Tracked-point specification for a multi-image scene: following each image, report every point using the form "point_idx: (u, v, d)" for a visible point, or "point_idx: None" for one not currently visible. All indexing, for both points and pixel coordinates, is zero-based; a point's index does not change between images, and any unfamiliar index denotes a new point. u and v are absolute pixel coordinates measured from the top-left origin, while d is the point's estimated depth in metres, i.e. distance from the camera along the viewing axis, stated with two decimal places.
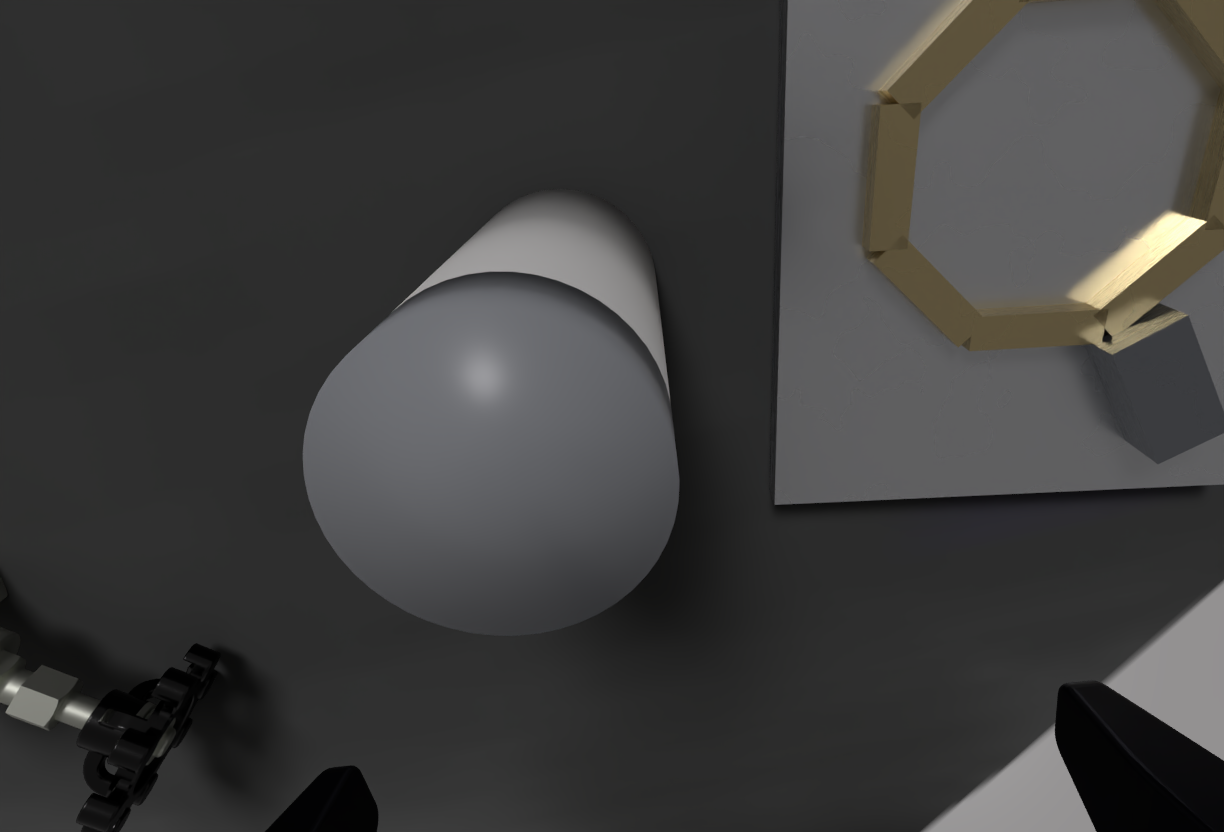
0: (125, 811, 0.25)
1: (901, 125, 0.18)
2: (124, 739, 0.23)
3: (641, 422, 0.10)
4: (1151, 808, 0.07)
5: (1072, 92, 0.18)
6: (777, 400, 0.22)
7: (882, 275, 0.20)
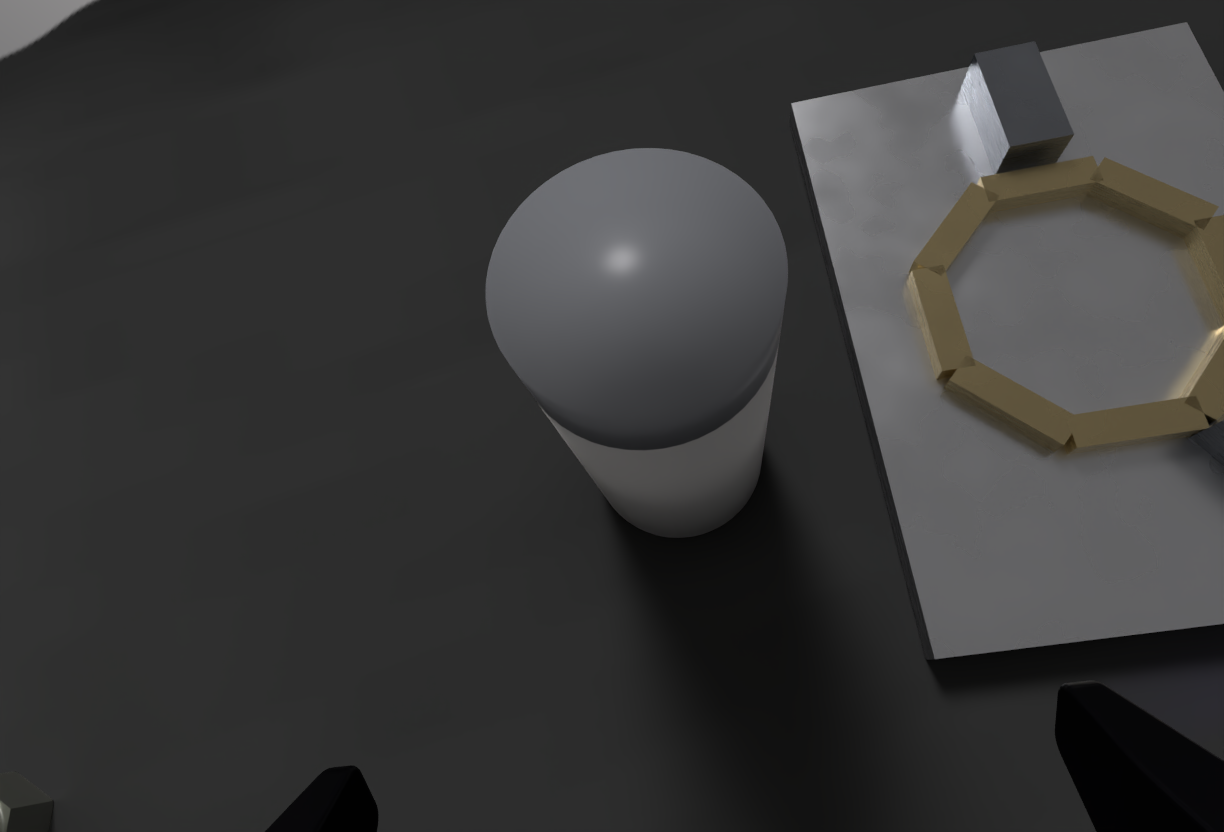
0: None
1: (933, 280, 0.23)
2: None
3: (747, 206, 0.13)
4: (1151, 808, 0.07)
5: (1063, 255, 0.24)
6: (901, 530, 0.22)
7: (964, 400, 0.23)
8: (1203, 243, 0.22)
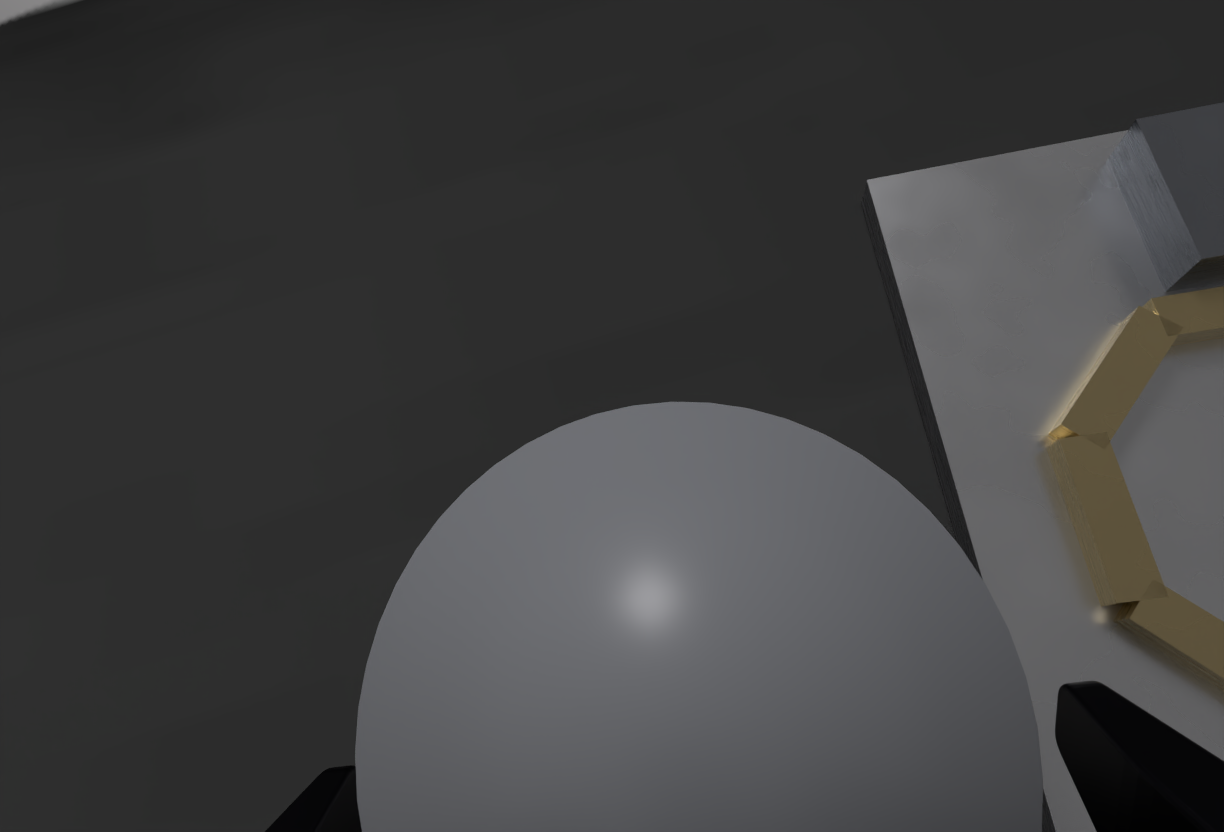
0: None
1: (1093, 456, 0.16)
2: None
3: (927, 563, 0.06)
4: (1151, 808, 0.07)
5: None
6: None
7: (1147, 644, 0.15)
8: None
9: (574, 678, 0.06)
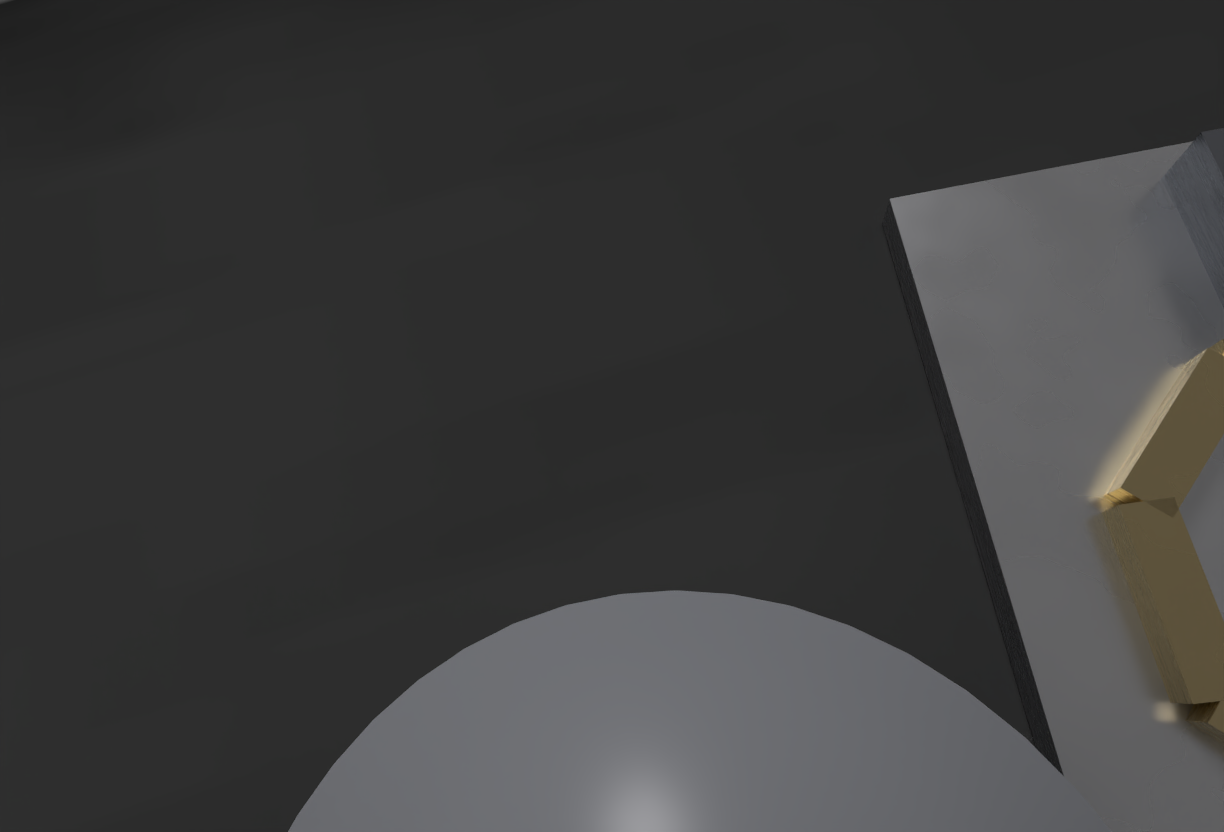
0: None
1: (1159, 526, 0.14)
2: None
3: None
4: None
5: None
6: None
7: None
8: None
9: None
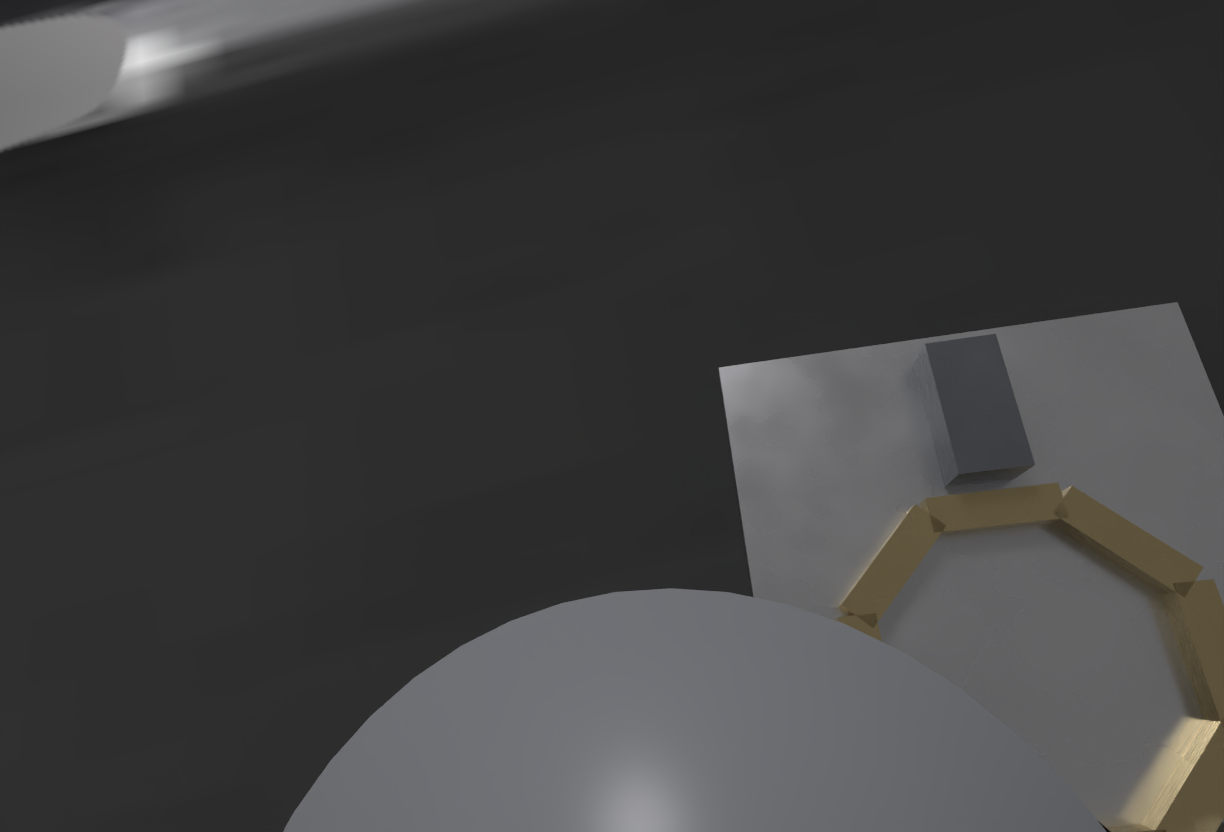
0: None
1: None
2: None
3: None
4: None
5: (1019, 602, 0.20)
6: None
7: None
8: (1183, 614, 0.19)
9: None
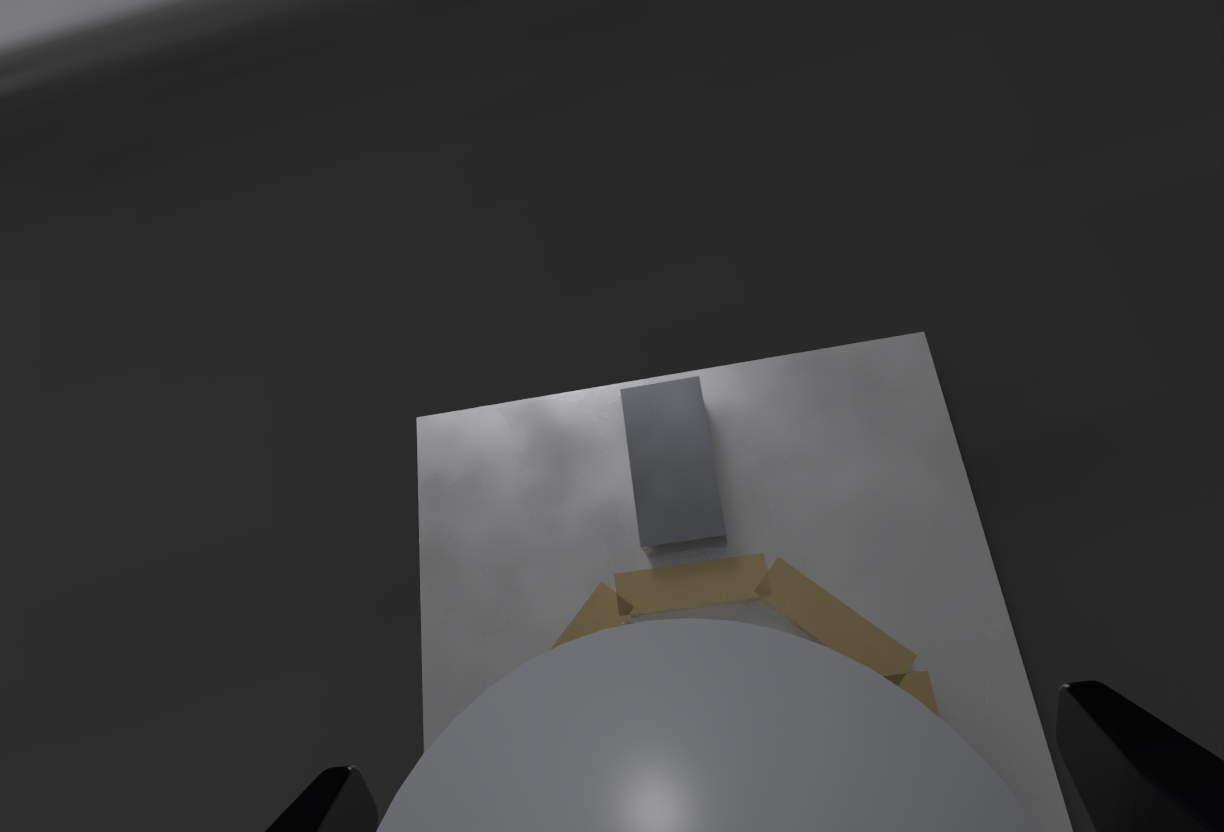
0: None
1: None
2: None
3: None
4: (1151, 808, 0.07)
5: None
6: None
7: None
8: None
9: None
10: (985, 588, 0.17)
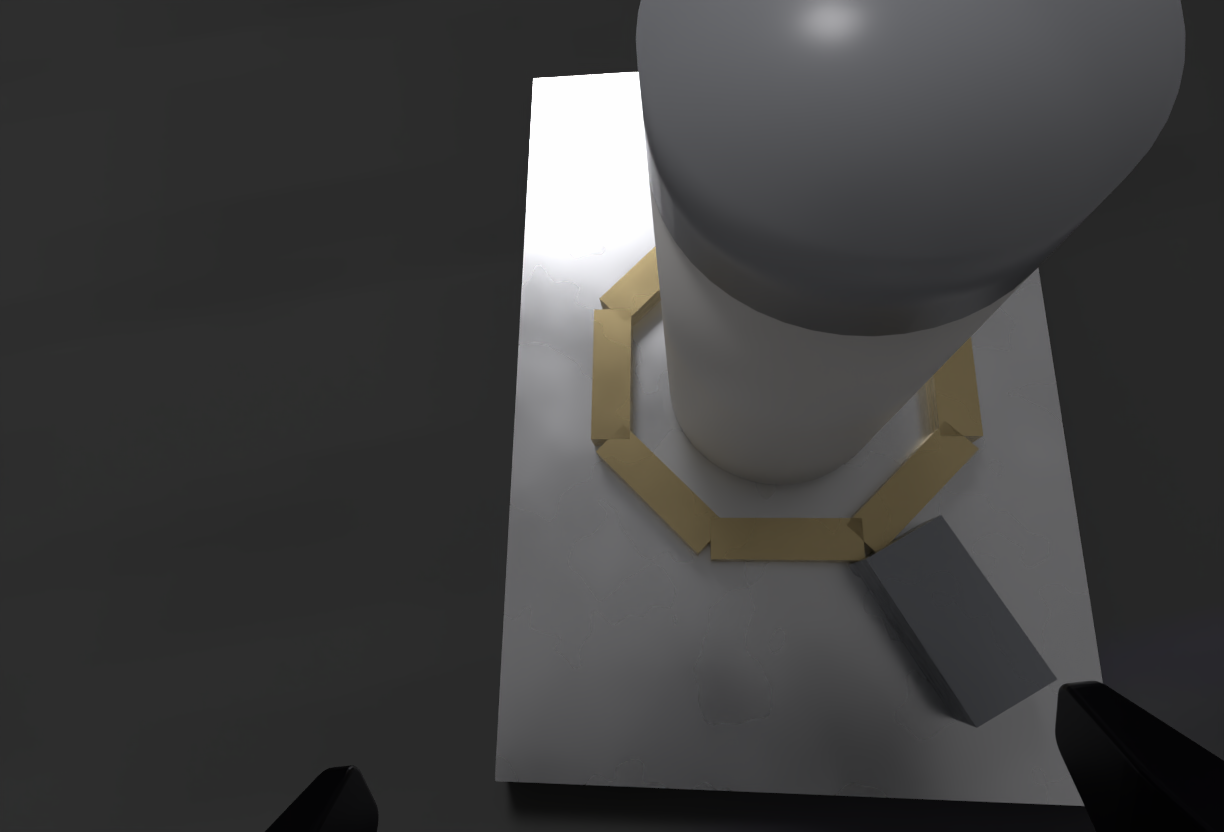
0: None
1: (614, 326, 0.19)
2: None
3: None
4: (1151, 808, 0.07)
5: None
6: (504, 620, 0.18)
7: (617, 476, 0.19)
8: None
9: None
10: None
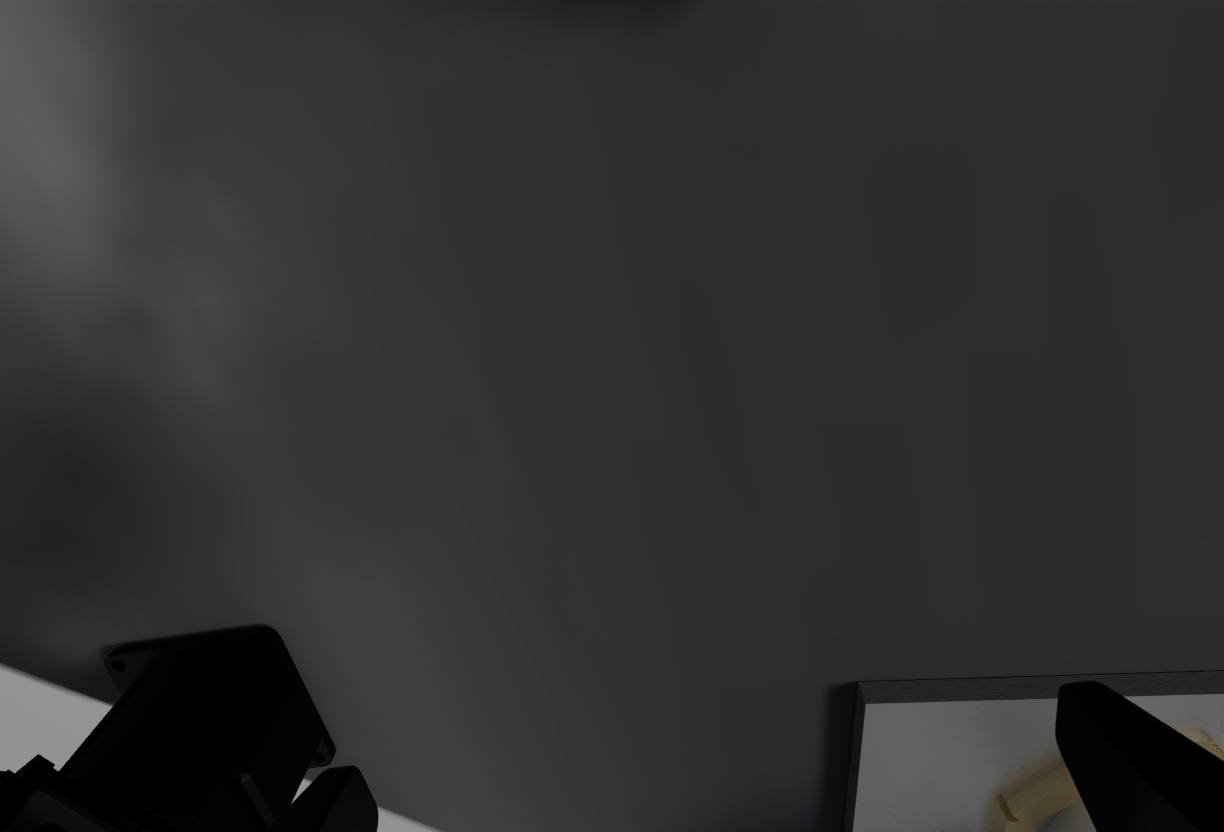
0: None
1: None
2: None
3: None
4: (1151, 808, 0.07)
5: None
6: (975, 699, 0.25)
7: None
8: None
9: None
10: None
